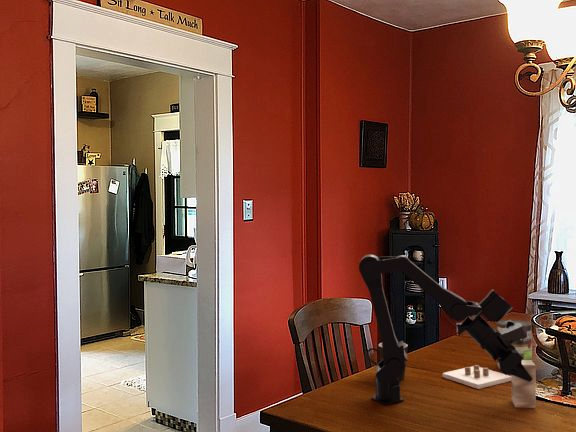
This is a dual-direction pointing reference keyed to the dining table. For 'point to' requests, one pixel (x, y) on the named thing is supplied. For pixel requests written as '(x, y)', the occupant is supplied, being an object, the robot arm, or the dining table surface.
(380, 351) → the coffee mug
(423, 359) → the dining table surface
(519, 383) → the birch block
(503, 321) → the coffee can
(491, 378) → the peg stand
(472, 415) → the dining table surface
